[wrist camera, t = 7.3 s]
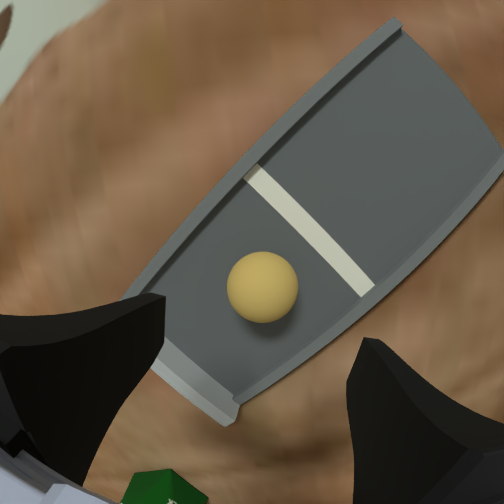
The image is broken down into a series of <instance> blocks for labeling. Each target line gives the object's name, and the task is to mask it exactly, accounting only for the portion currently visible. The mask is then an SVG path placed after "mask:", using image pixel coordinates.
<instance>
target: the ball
mask: <svg viewBox="0 0 504 504" xmlns="http://www.w3.org/2000/svg"><path fill="white" fill-rule="evenodd" d="M227 294H228V298H229V301H230V303H231V305H232V307H233V308H234V309H235V311H236V312H237V313H238V314H240V315H241V316H242V317H244V318H245V319H247V320H250V321H253V322H257V323H267V322H272V321H275V320H278V319H280V318H281V317H283V316H284V315H285V314H287V313H288V312H289V311H290V309H291V308H292V307H293V305H294V303H295V301H296V298H297V294H298V280H297V276H296V273H295V271H294V269H293V268H292V266H291V265H290V264H289V263H288V262H287V261H286V260H285V259H284V258H282V257H281V256H279V255H277V254H274V253H271V252H255V253H251V254H248V255H246V256H244V257H243V258H241V259H240V260H239V261H238V262H237V263H236V264H235V265H234V266H233V268H232V270H231V272H230V274H229V276H228V280H227Z"/></svg>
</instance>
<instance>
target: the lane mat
mask: <svg viewBox="0 0 504 504" xmlns="http://www.w3.org/2000/svg"><path fill="white" fill-rule="evenodd" d="M402 26H403V24H402V23H401V22H400V21H399V20H397V19H396V18H395V17H392V18H391V19H390V20H389V21H387V22H386V23H385V24H384V25H383V26H381V27H380V28H379V29H378V30H376V31H375V32H374V33H373V34H372V35H370V36H369V37H368V38H367V39H366V40H364V41H363V42H362V43H361V44H360V45H359V46H357V47H356V48H355V49H354V50H353V51H352V52H351V53H349V54H348V55H347V56H346V57H345V58H344V59H343V60H341V61H340V62H339V63H338V64H337V65H336V66H335V67H334V68H333V69H331V70H330V71H329V72H328V73H327V74H326V75H325V76H324V77H323V78H322V79H320V80H319V81H318V82H317V83H316V84H315V85H314V86H313V87H312V88H311V89H310V90H309V91H308V92H307V93H305V94H304V95H303V96H302V97H301V98H300V99H299V100H298V101H297V102H296V103H295V104H294V105H293V106H292V107H291V108H290V109H289V110H288V111H287V112H286V113H285V114H284V115H283V116H282V117H281V118H280V119H279V120H278V121H277V122H276V123H275V124H274V125H273V126H272V127H271V128H270V129H269V130H268V131H267V132H266V133H265V134H264V135H263V136H262V137H261V138H260V139H259V140H258V141H257V142H256V143H255V144H254V145H253V146H252V147H251V148H250V149H249V150H248V151H247V152H246V153H245V154H244V155H243V157H242V158H241V159H240V160H239V161H238V162H237V163H236V164H235V165H234V166H233V167H232V168H231V169H230V170H229V171H228V173H227V174H226V175H225V176H224V177H223V178H222V179H221V180H220V181H219V182H218V183H217V184H216V186H215V187H214V188H213V189H212V190H211V191H210V192H209V193H208V194H207V196H206V197H205V198H204V199H203V200H202V201H201V202H200V203H199V205H198V206H197V207H196V208H195V209H194V210H193V211H192V213H191V214H190V215H189V216H188V217H187V218H186V219H185V221H184V222H183V223H182V224H181V225H180V226H179V228H178V229H177V230H176V231H175V232H174V233H173V235H172V236H171V237H170V238H169V239H168V241H167V242H166V243H165V244H164V245H163V247H162V248H161V249H160V250H159V251H158V253H157V254H156V255H155V256H154V258H153V259H152V260H151V261H150V262H149V264H148V265H147V266H146V267H145V269H144V270H143V271H142V272H141V274H140V275H139V276H138V277H137V279H136V280H135V281H134V282H133V284H132V285H131V286H130V288H129V289H128V290H127V291H126V293H125V294H124V295H123V297H122V298H121V299H120V300H119V301H121V300H124V299H127V298H131V297H134V296H138V295H141V294H145V293H151V292H152V293H155V294H159V295H163V296H166V311H165V339H164V345H163V347H162V348H161V350H160V352H159V354H158V356H157V358H156V360H155V361H154V363H153V364H152V366H151V367H150V368H151V369H152V370H153V371H154V372H156V373H157V374H158V375H159V376H160V377H161V378H162V379H164V380H165V381H166V382H167V383H168V384H170V385H171V386H172V387H173V388H174V389H176V390H177V391H178V392H179V393H180V394H182V395H183V396H184V397H185V398H187V399H188V400H189V401H190V402H192V403H193V404H194V405H196V406H197V407H198V408H199V409H201V410H202V411H203V412H205V413H206V414H207V415H209V416H210V417H211V418H213V419H214V420H215V421H217V422H218V423H220V424H221V425H222V426H224V427H226V426H228V425H230V424H231V423H233V422H235V421H236V417H237V414H238V410H239V406H240V405H241V404H243V403H245V402H246V401H248V400H249V399H251V398H252V397H254V396H255V395H257V394H258V393H260V392H261V391H263V390H264V389H266V388H267V387H269V386H270V385H272V384H273V383H275V382H276V381H278V380H279V379H280V378H282V377H283V376H285V375H286V374H288V373H289V372H290V371H292V370H293V369H295V368H296V367H297V366H299V365H300V364H301V363H303V362H304V361H306V360H307V359H308V358H310V357H311V356H312V355H314V354H315V353H316V352H318V351H319V350H320V349H322V348H323V347H324V346H325V345H327V344H328V343H329V342H331V341H332V340H333V339H334V338H336V337H337V336H338V335H339V334H341V333H342V332H343V331H344V330H346V329H347V328H348V327H349V326H351V325H352V324H353V323H354V322H355V321H357V320H358V319H359V318H360V317H361V316H363V315H364V314H365V313H366V312H367V311H368V310H370V309H371V308H372V307H373V306H374V305H375V304H376V303H378V302H379V301H380V300H381V299H382V298H383V297H384V296H386V295H387V294H388V293H389V292H390V291H391V290H392V289H393V288H394V287H396V286H397V285H398V284H399V283H400V282H401V281H402V280H403V279H404V278H405V277H406V276H407V275H408V274H409V273H410V272H412V271H413V270H414V269H415V268H416V267H417V266H418V265H419V264H420V263H421V262H422V261H423V260H424V259H425V258H426V257H427V256H428V255H429V254H430V253H431V252H432V251H433V250H434V249H435V248H436V247H437V246H438V245H439V244H440V243H441V242H442V241H443V240H444V239H445V237H446V236H447V235H448V234H449V233H450V232H451V231H452V230H453V229H454V228H455V227H456V226H457V225H458V224H459V222H460V221H461V220H462V219H463V218H464V217H465V216H466V215H467V214H468V212H469V211H470V210H471V209H472V208H473V207H474V206H475V204H476V203H477V202H478V201H479V200H480V199H481V197H482V196H483V195H484V194H485V193H486V191H487V190H488V189H489V188H490V187H491V185H492V184H493V183H494V182H495V180H496V179H497V178H498V177H499V175H500V174H501V173H502V172H503V170H504V149H502V148H501V146H500V145H499V143H498V142H497V140H496V138H495V137H494V135H493V134H492V132H491V131H490V129H489V128H488V127H487V125H486V124H485V122H484V121H483V119H482V118H481V117H480V115H479V114H478V113H477V111H476V110H475V109H474V107H473V106H472V105H471V103H470V102H469V101H468V99H467V98H466V97H465V96H464V94H463V93H462V92H461V91H460V89H459V88H458V87H457V86H456V85H455V83H454V82H453V81H452V80H451V79H450V78H449V76H448V75H447V74H446V73H445V72H444V71H443V70H442V69H441V68H440V66H439V65H438V64H437V63H436V62H435V61H434V60H433V59H432V58H431V57H430V56H429V55H428V54H427V53H426V52H425V51H424V50H423V49H422V48H421V47H420V46H419V45H418V44H417V43H416V42H415V41H414V40H413V39H412V38H411V37H410V36H409V35H408V34H407V33H406V32H404V31H403V30H402V29H401V27H402ZM255 252H271V253H274V254H277V255H279V256H281V257H282V258H284V259H285V260H286V261H287V262H288V263H289V264H290V265H291V266H292V268H293V269H294V271H295V273H296V276H297V280H298V294H297V298H296V301H295V303H294V305H293V307H292V308H291V309H290V311H289V312H288V313H287V314H285V315H284V316H283V317H281V318H280V319H278V320H275V321H272V322H267V323H257V322H253V321H250V320H247V319H245V318H244V317H242V316H241V315H240V314H238V313H237V312H236V311H235V309H234V308H233V307H232V305H231V303H230V301H229V298H228V294H227V280H228V276H229V274H230V272H231V270H232V268H233V266H234V265H235V264H236V263H237V262H238V261H239V260H240V259H241V258H243V257H244V256H246V255H248V254H251V253H255Z"/></svg>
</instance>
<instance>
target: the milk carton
mask: <svg viewBox="0 0 504 504" xmlns="http://www.w3.org/2000/svg"><path fill="white" fill-rule="evenodd" d="M207 499H208V497H207V496H205V495H204V494H203V493H201V492H200V491H198V490H197V489H196V488H194V487H193V486H192V485H190V484H189V483H188V482H186V481H185V480H184V479H183V478H181V477H180V476H179V475H178V474H176V473H175V472H174V471H173V470H171V469H165V470H158V471H149V472H139V473H134V475H133V477H132V479H131V481H130V483H129V486H128V488H127V490H126V492H125V494H124V496H123V498H122V500H121V502H120V503H119V504H206V502H207Z"/></svg>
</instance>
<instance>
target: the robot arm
mask: <svg viewBox="0 0 504 504" xmlns="http://www.w3.org/2000/svg"><path fill="white" fill-rule="evenodd" d="M165 311H166V296H163V295H159V294H155V293H152V292H151V293H145V294H141V295H138V296H134V297H131V298H127V299H124V300H121V301H117V302H114V303H111V304H107V305H103V306H99V307H95V308H91V309H87V310H83V311H78V312H72V313H65V314H57V315H42V316H14V315H2V314H0V504H119V503H116V502H114V501H112V500H110V499H108V498H106V497H103V496H101V495H99V494H96V493H94V492H91V491H89V490H87V489H85V488H83V487H82V486H83V483H84V481H85V478H86V475H87V473H88V470H89V468H90V466H91V463H92V461H93V459H94V457H95V454H96V452H97V450H98V448H99V446H100V444H101V442H102V440H103V438H104V436H105V434H106V432H107V430H108V428H109V426H110V425H111V423H112V421H113V419H114V417H115V416H116V414H117V412H118V410H119V409H120V407H121V406H122V404H123V403H124V401H125V400H126V399H127V397H128V396H129V395H130V393H131V392H132V391H133V390H134V388H135V387H136V386H137V384H138V383H139V382H140V380H141V379H142V378H143V376H144V375H145V374H146V372H147V371H148V370H149V368H150V367H151V366H152V364H153V363H154V361H155V360H156V358H157V356H158V354H159V352H160V350H161V348H162V347H163V345H164V339H165ZM346 397H347V410H348V417H349V424H350V431H351V438H352V445H353V452H354V491H353V504H504V424H503V423H500V422H497V421H495V420H492V419H490V418H487V417H485V416H482V415H480V414H478V413H476V412H474V411H472V410H470V409H468V408H466V407H465V406H463V405H461V404H459V403H457V402H456V401H454V400H452V399H451V398H449V397H448V396H446V395H445V394H444V393H442V392H441V391H439V390H438V389H436V388H435V387H434V386H432V385H431V384H430V383H429V382H427V381H426V380H425V379H424V378H423V377H421V376H420V375H419V374H418V373H417V372H416V371H414V370H413V369H412V368H411V367H410V366H409V365H408V364H407V363H406V362H405V361H403V360H402V359H401V358H400V357H399V356H398V355H397V354H396V353H395V352H394V351H393V350H392V349H391V348H389V347H388V346H387V345H386V344H385V343H383V342H382V341H381V340H379V339H373V338H366V337H364V338H363V341H362V343H361V346H360V349H359V351H358V354H357V357H356V359H355V362H354V364H353V367H352V369H351V372H350V374H349V377H348V379H347V381H346Z"/></svg>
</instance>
